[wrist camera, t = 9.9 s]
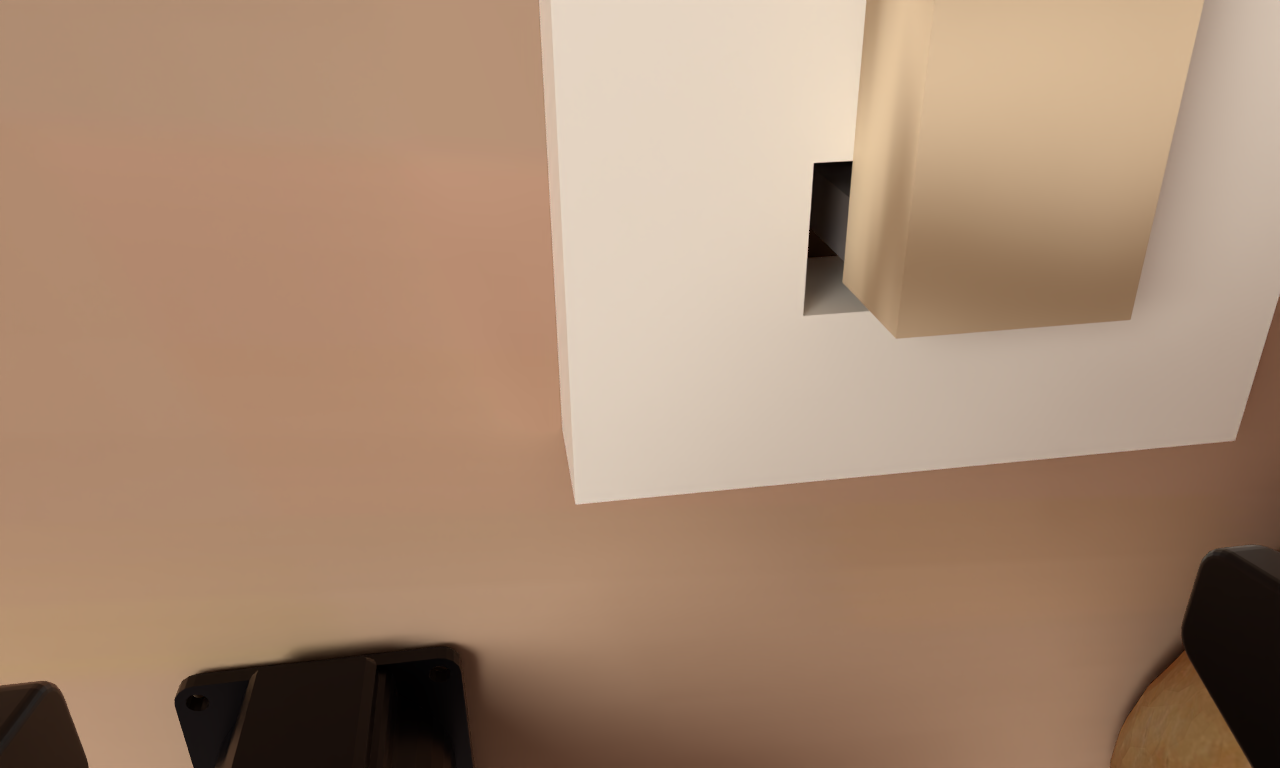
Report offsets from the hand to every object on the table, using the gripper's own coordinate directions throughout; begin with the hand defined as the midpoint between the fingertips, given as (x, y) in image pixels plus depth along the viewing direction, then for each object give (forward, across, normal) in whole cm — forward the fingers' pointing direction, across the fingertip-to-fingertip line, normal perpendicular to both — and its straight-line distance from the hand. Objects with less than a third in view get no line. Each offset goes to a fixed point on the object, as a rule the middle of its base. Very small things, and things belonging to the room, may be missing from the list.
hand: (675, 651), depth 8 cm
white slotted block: (+13, -7, 0) cm, 15 cm away
